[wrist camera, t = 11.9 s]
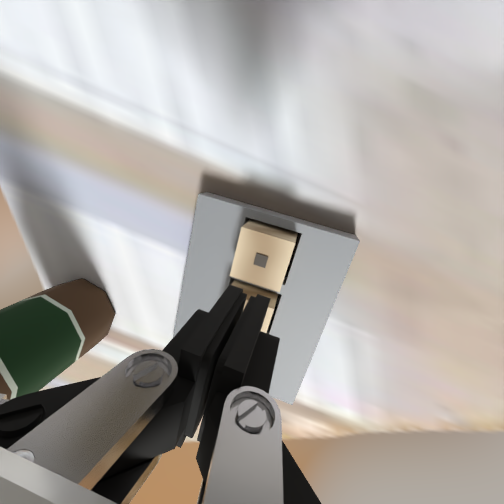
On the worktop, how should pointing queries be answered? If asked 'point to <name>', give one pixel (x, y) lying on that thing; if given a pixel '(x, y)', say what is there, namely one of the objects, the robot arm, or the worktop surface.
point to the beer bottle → (50, 334)
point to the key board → (292, 290)
